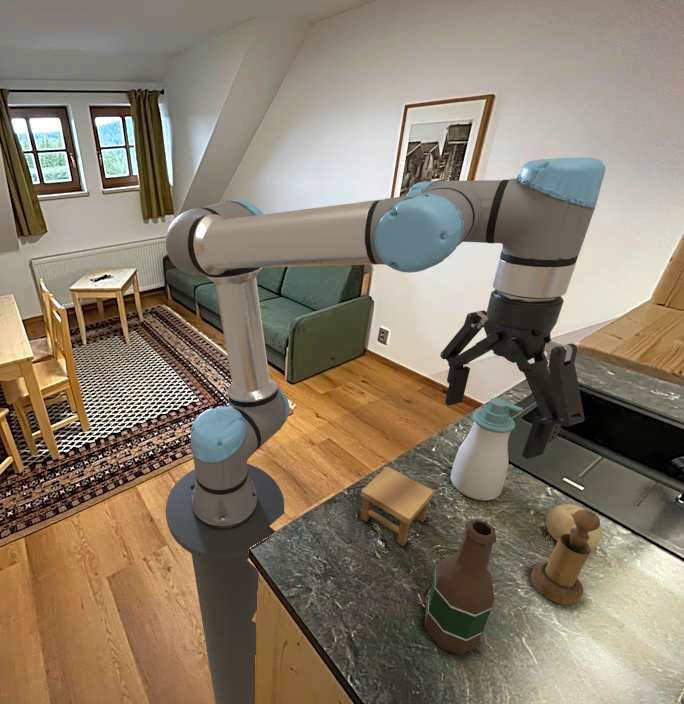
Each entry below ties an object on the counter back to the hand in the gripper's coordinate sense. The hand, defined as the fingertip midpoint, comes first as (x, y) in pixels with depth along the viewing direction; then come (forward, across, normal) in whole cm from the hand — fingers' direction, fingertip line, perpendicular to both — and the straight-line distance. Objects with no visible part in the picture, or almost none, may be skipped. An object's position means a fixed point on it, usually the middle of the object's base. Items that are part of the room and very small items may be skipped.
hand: (488, 426), depth 60 cm
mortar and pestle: (+32, -9, -13) cm, 36 cm away
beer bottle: (+32, -10, +9) cm, 34 cm away
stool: (+31, +12, +4) cm, 34 cm away
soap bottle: (+32, +13, -19) cm, 39 cm away
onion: (+32, -3, -24) cm, 40 cm away
